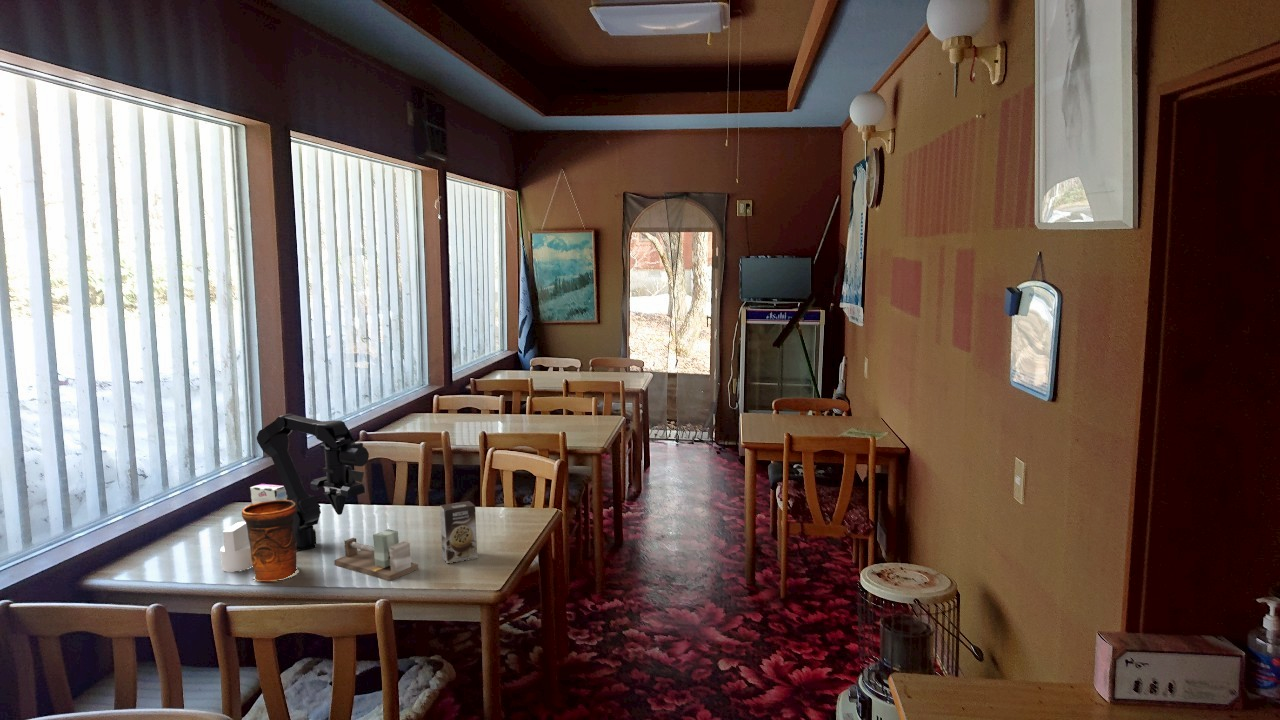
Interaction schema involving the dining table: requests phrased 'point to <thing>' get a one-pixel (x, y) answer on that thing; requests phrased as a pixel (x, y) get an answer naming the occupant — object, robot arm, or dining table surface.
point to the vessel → (272, 538)
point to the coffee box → (458, 531)
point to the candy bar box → (267, 493)
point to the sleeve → (384, 546)
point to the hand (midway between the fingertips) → (339, 514)
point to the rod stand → (366, 560)
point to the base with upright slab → (236, 548)
